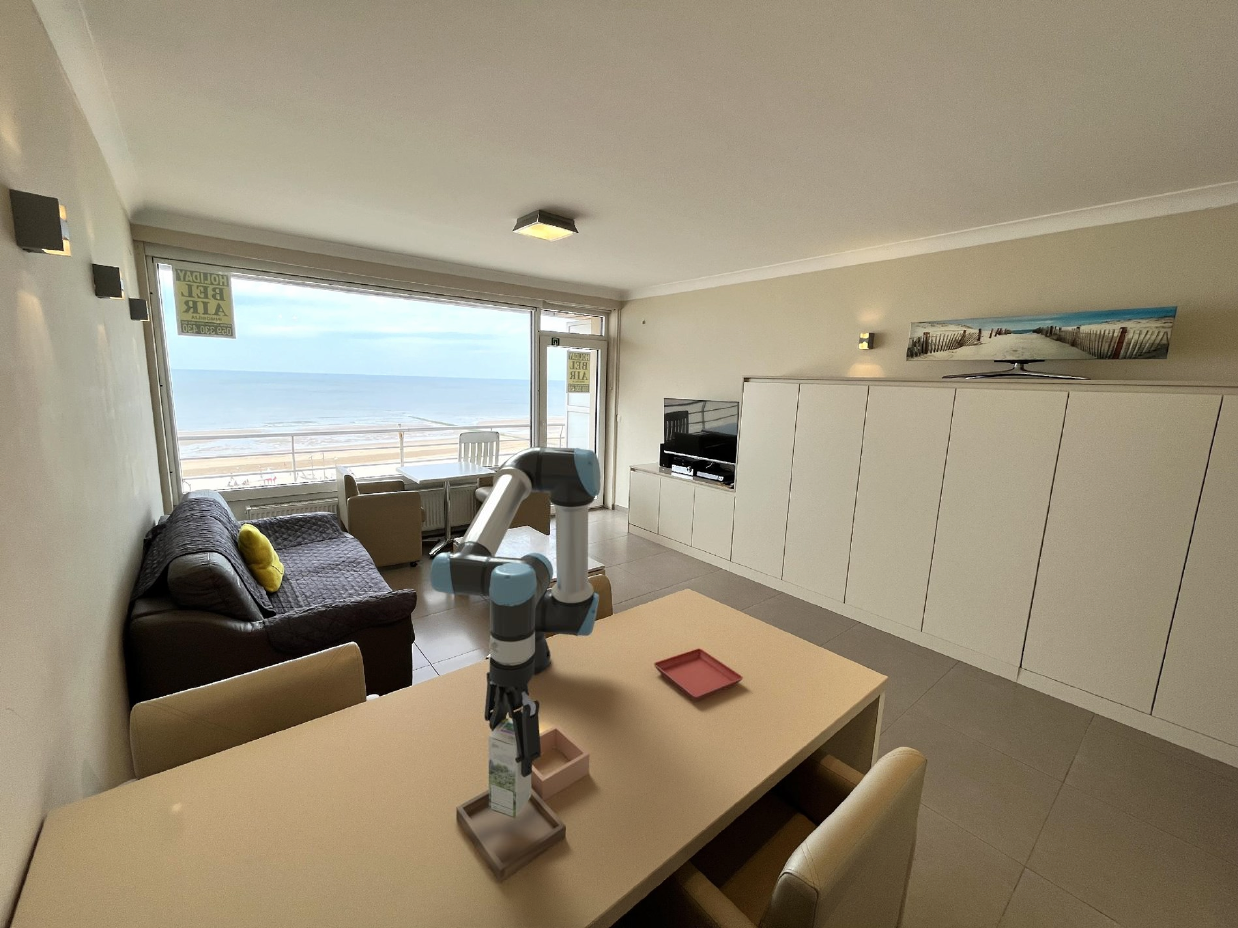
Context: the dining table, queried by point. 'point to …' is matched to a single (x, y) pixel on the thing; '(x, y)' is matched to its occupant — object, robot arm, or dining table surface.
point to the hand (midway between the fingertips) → (510, 774)
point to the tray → (510, 833)
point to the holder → (565, 773)
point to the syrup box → (504, 771)
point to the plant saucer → (697, 673)
